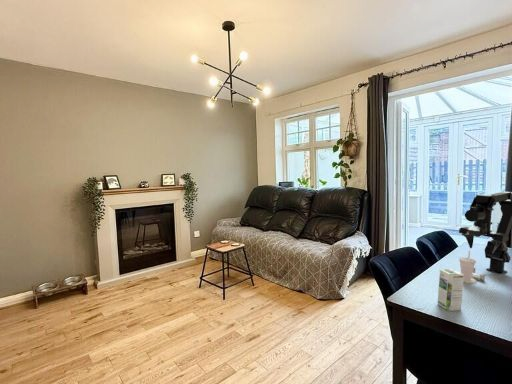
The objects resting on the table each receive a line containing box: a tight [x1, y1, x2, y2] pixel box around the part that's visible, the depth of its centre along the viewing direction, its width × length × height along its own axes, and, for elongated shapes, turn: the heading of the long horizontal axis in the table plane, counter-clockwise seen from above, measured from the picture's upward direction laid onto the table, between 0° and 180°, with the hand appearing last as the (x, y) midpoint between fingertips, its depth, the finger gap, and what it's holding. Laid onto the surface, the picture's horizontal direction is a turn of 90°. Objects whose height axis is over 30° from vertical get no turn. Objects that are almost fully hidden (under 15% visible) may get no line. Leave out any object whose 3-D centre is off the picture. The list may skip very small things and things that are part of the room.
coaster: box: [463, 278, 478, 284], centre depth 133 cm, size 8×8×1 cm
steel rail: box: [471, 267, 486, 283], centre depth 136 cm, size 7×9×3 cm
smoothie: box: [458, 250, 477, 280], centre depth 132 cm, size 6×6×14 cm
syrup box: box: [437, 268, 464, 312], centre depth 107 cm, size 6×6×14 cm
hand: (481, 250), depth 136 cm, fingers open, 9 cm apart
